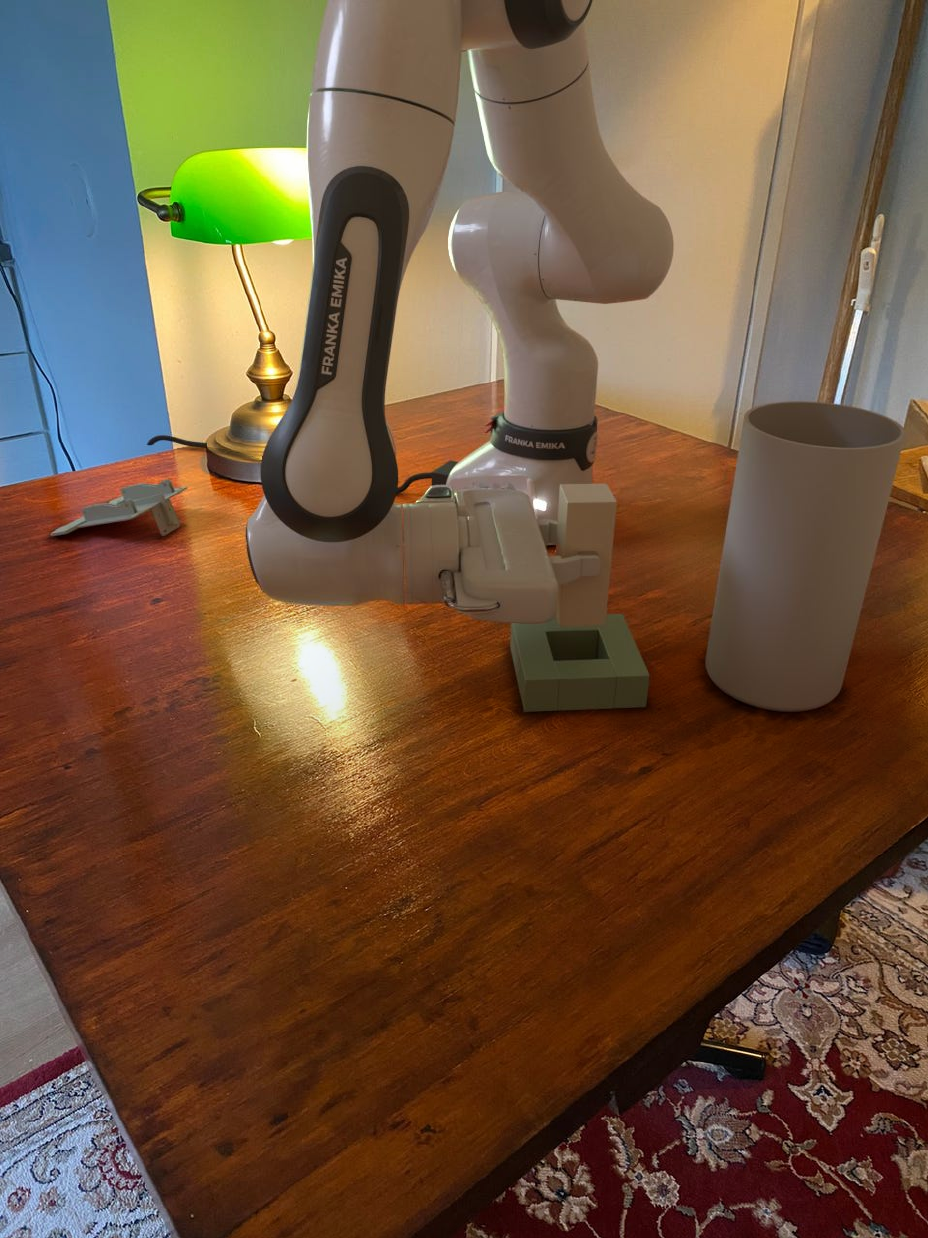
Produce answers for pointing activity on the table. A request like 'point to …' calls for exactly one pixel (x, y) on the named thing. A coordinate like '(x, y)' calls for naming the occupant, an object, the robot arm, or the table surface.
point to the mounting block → (578, 666)
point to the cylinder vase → (799, 550)
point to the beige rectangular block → (585, 529)
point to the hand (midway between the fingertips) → (593, 549)
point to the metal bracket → (132, 508)
